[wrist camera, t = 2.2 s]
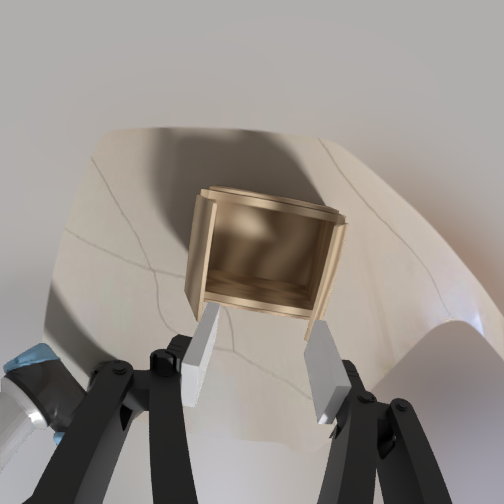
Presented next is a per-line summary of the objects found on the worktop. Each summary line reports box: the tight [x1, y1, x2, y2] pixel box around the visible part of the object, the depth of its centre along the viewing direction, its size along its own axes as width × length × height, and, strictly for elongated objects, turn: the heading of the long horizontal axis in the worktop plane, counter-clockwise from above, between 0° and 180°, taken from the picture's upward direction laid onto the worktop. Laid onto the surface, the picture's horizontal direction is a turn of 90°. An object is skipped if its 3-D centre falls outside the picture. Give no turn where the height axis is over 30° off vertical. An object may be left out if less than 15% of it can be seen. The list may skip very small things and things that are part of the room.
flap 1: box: [184, 194, 217, 322], centre depth 31 cm, size 8×13×1 cm
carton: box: [201, 186, 346, 320], centre depth 40 cm, size 18×15×10 cm
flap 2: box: [304, 222, 348, 341], centre depth 31 cm, size 8×13×1 cm
